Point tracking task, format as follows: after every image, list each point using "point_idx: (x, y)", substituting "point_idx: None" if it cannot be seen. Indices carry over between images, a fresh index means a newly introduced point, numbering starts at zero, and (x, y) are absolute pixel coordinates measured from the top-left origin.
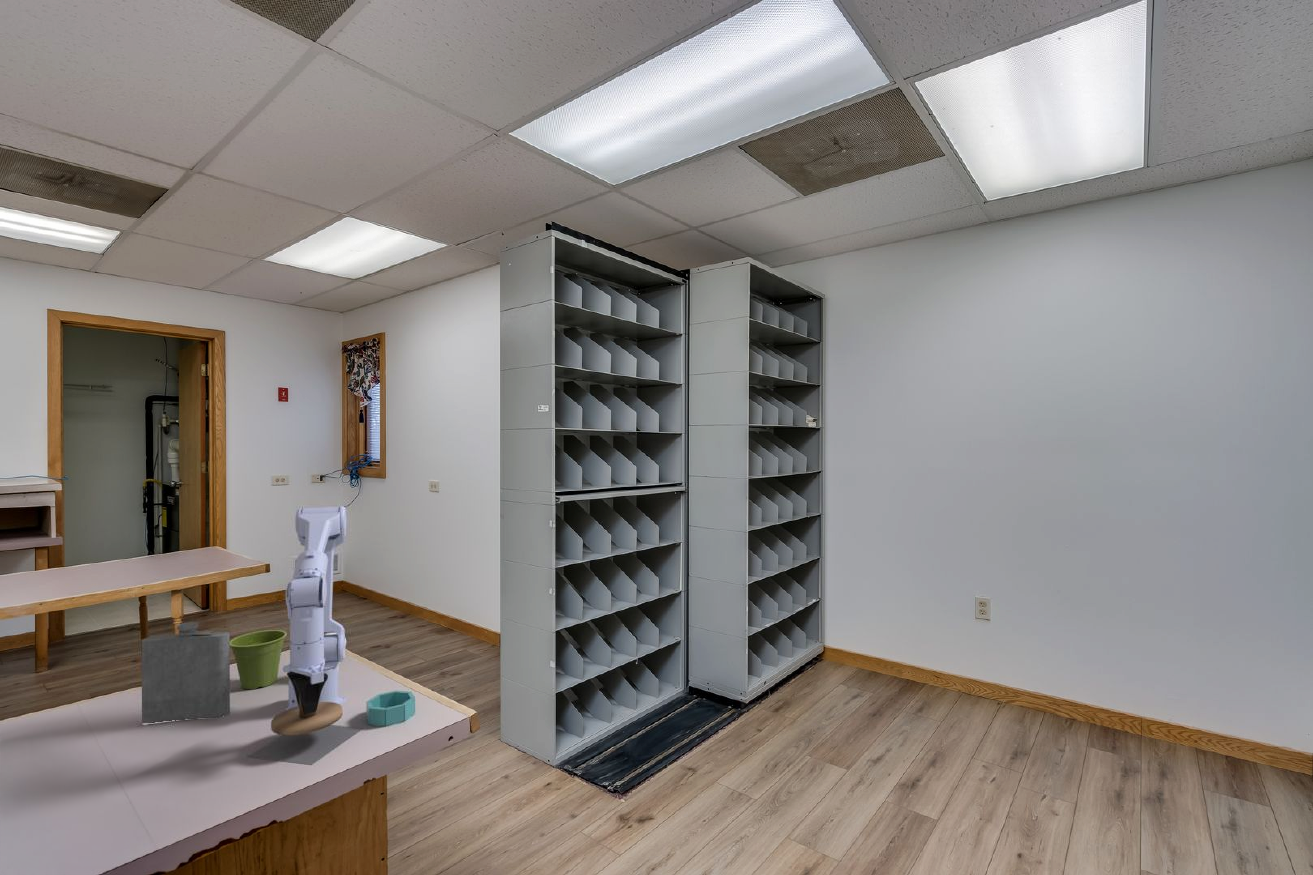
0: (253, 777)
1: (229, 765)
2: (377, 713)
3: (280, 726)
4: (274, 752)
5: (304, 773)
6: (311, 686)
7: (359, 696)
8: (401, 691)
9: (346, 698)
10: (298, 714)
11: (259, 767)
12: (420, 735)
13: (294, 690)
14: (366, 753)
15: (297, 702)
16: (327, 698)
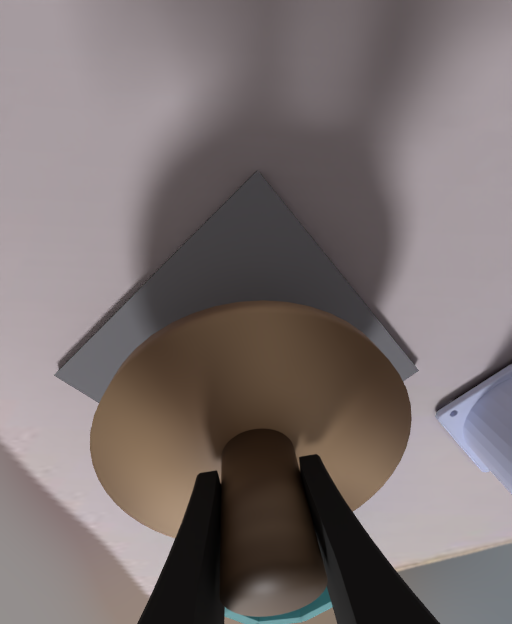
0: (55, 189)
1: (236, 94)
2: None
3: (184, 354)
4: (230, 274)
5: (15, 349)
6: None
7: (475, 486)
8: (325, 608)
9: (481, 470)
10: (295, 425)
11: (143, 216)
12: (128, 566)
13: (385, 560)
14: (83, 483)
15: (323, 480)
16: (488, 457)
